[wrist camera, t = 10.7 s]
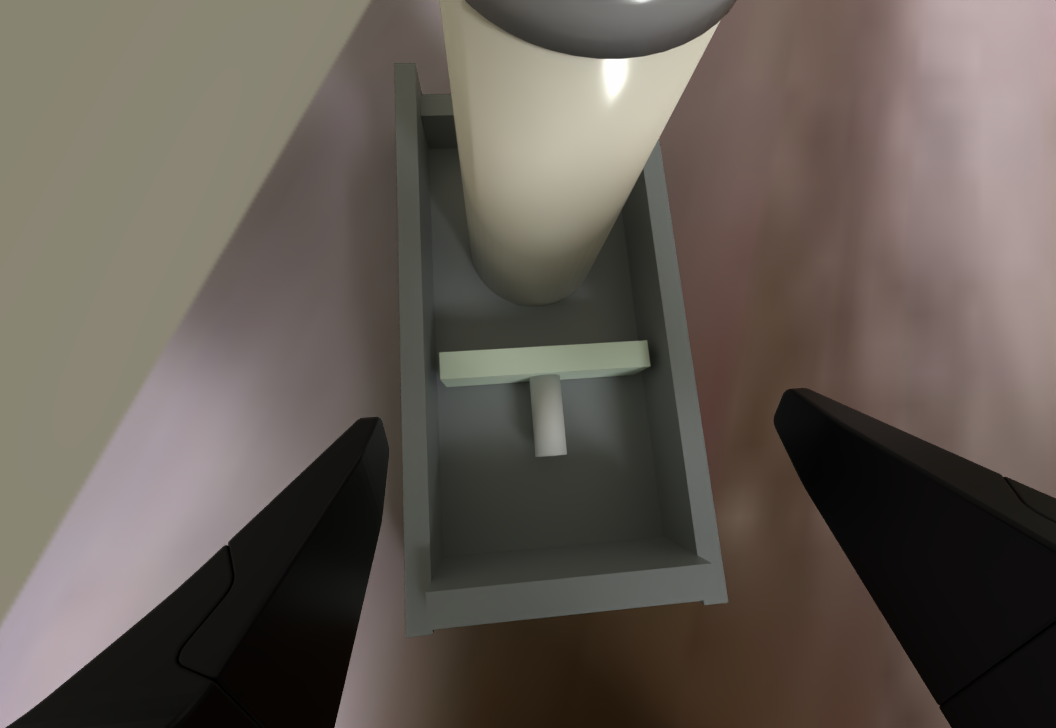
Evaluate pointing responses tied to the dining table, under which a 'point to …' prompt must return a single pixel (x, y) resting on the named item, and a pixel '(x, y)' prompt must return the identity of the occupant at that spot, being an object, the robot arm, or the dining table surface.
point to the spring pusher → (544, 377)
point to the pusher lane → (507, 427)
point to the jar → (561, 124)
